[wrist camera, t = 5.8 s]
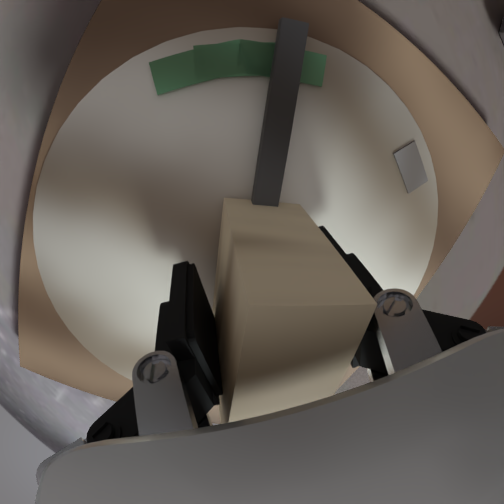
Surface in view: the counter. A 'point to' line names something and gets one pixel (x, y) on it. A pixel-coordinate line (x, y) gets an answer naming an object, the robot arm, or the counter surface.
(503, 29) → the screw
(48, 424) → the counter surface
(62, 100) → the square board with disc
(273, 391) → the beige block with rod
